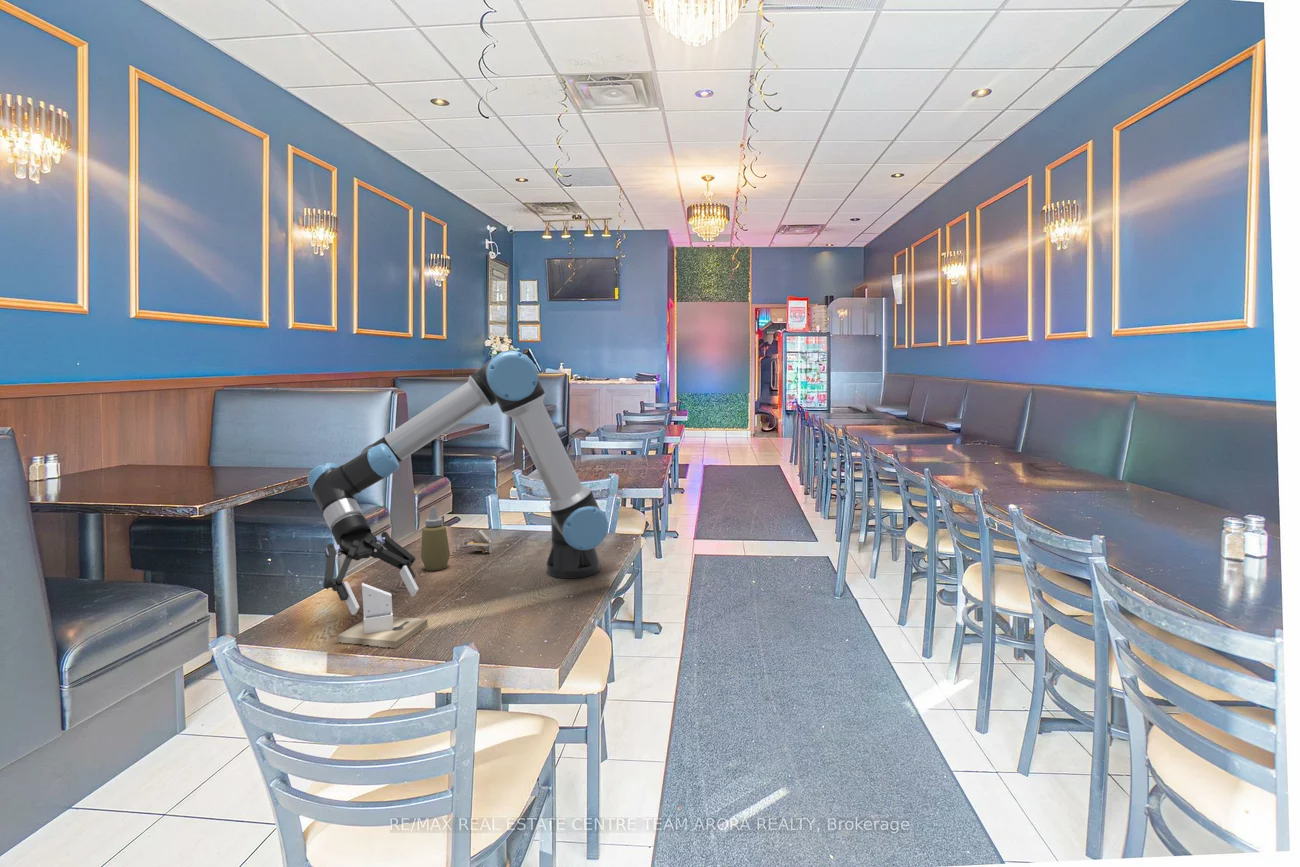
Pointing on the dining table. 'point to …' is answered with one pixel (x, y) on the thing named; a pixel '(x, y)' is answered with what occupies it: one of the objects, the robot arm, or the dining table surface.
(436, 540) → the squeeze bottle
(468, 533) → the dining table surface
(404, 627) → the mount board
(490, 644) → the dining table surface
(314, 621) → the dining table surface
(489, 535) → the architectural model
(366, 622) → the white angled block
